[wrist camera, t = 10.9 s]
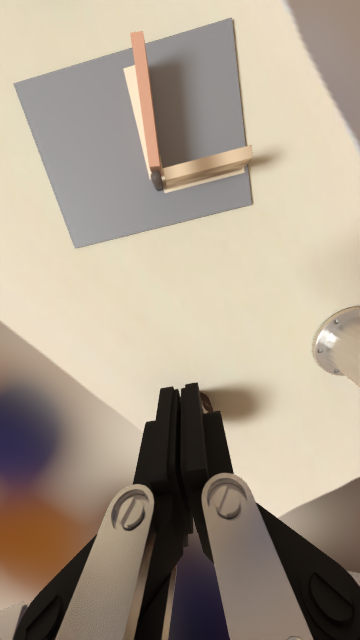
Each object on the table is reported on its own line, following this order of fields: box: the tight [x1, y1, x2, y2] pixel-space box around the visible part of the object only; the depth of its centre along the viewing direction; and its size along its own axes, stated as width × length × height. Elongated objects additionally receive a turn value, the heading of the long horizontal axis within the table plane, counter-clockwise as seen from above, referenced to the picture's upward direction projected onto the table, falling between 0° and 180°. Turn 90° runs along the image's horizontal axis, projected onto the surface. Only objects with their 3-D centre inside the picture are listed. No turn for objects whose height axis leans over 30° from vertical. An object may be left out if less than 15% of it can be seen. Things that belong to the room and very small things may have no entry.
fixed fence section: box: [151, 145, 253, 191], centre depth 28 cm, size 12×1×5 cm, turn 103°
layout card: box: [14, 18, 252, 248], centre depth 29 cm, size 26×19×1 cm
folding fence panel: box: [130, 31, 162, 177], centre depth 26 cm, size 11×1×5 cm, turn 7°
